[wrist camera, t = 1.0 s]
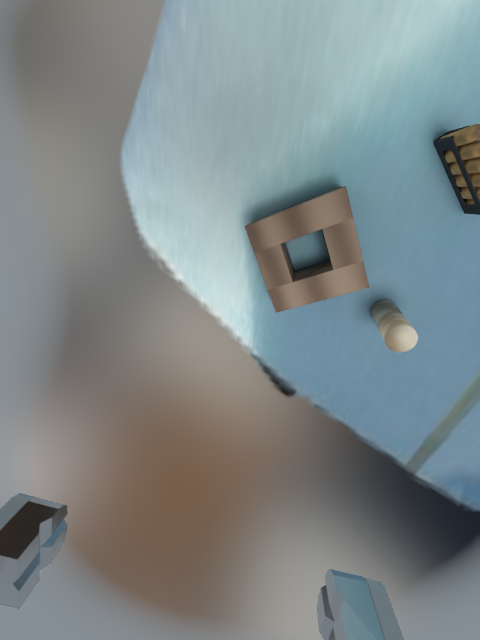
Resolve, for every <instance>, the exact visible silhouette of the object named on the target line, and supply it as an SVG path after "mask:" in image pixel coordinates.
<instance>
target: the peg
mask: <svg viewBox="0 0 480 640" xmlns="http://www.w3.org/2000/svg"><path fill="white" fill-rule="evenodd" d="M371 315H372V317H373V319H374V321H375V323H376V325H377V327H378V329H379V331H380V333H381V336H382V338H383V340H384V342H385V344H386V346H387V347H388V348H389V349H390V350H392V351H395V352H405V351H408V350H410V349H412V348H413V347H414V346H415V345H416V343H417V341H418V335H417V333H416V331H415V330H414V329H413V327H412V326H411V324H410V323H409V322H408V320H407V319H406V318H405V316H404V315H403V314H402V312H401V311H400V310H399V308H398V307H397V306H396V304H395V303H394V302H392V301H390V300H380V301H378V302H376V303H375V304H374V305H373V306H372V308H371Z"/></svg>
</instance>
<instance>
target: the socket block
mask: <svg viewBox="0 0 480 640" xmlns="http://www.w3.org/2000/svg"><path fill="white" fill-rule="evenodd" d="M245 228H246V231H247V234H248V237H249V239H250V242H251V245H252V248H253V250H254V253H255V256H256V259H257V261H258V264H259V267H260V270H261V273H262V275H263V278H264V281H265V284H266V286H267V289H268V292H269V295H270V297H271V300H272V303H273V306H274V309H275V311H276V312H280V311H284V310H288V309H291V308H295V307H299V306H302V305H306V304H310V303H314V302H317V301H321V300H325V299H328V298H332V297H336V296H339V295H343V294H347V293H351V292H354V291H358V290H362V289H365V288H369V285H368V280H367V276H366V272H365V267H364V263H363V259H362V254H361V250H360V246H359V241H358V237H357V233H356V228H355V224H354V220H353V215H352V211H351V207H350V202H349V198H348V194H347V189H346V187H339V188H337V189H334V190H332V191H329V192H327V193H324V194H322V195H319V196H317V197H314V198H312V199H309V200H307V201H304V202H302V203H299V204H297V205H294V206H292V207H289V208H287V209H284V210H282V211H279V212H277V213H274V214H272V215H269V216H267V217H264V218H262V219H259V220H257V221H254V222H252V223H250V224H249V225H247V226H245ZM321 229H322V230H323V234H324V238H325V241H326V245H327V249H328V252H329V256H330V261H327V262H324V263H321V264H318V265H315V266H311V267H308V268H305V269H302V270H299V271H296V272H295V271H294V268H293V265H292V262H291V259H290V256H289V253H288V250H287V246H286V243H285V242H287V241H290V240H293V239H295V238H298V237H301V236H304V235H307V234H309V233H312V232H315V231H318V230H321Z"/></svg>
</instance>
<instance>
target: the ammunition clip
mask: <svg viewBox="0 0 480 640" xmlns="http://www.w3.org/2000/svg"><path fill="white" fill-rule="evenodd" d="M478 139H480V124H475V125H472V126H466V127H463V128H459V129H456V130H452V131H449V132H447V133H445V134H444V135H442V136H441V137H439V138H438V139H436V140H435V141H434V146H435V148H436V150H437V153H438V155H439V157H440V159H441V162H442V164H443V166H444V168H445V171H446V173H447V175H448V177H449V180H450V182H451V184H452V186H453V189H454V191H455V193H456V195H457V198H458V200H459V202H460V205H461V207H462V209H463V211H464V213H466V214H478V215H480V140H479V141H477V140H478Z"/></svg>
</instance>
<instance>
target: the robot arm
mask: <svg viewBox="0 0 480 640" xmlns="http://www.w3.org/2000/svg"><path fill="white" fill-rule="evenodd" d="M66 515H67V505H63V504H59V503H55V502H52V501H48V500H44V499H40V498H37V497H33V496H29V495H25V494H21V493H19V494H17V495H15V496H14V497H12V498H11V499H10V500H9V501H8V502H7V503H6V504H5V505H4V506H2V508H0V605H5V606H9V607H14V608H18V609H19V608H20V607H21V606H22V604H23V603H24V601H25V600H26V598H27V597H28V596H29V594H30V593H31V591H32V590H33V588H34V587H35V585H36V584H37V583H38V581H39V579H40V570H41V569H42V568H44V567H45V566H47V565H48V564H50V563H51V562H52V561H53V560H54V558H55V556H56V555H57V554H58V552H59V550H60V548H61V546H62V544H63V542H64V540H65V536H66V533H67V524H66V522H65V521H64V518H65V516H66ZM325 581H326V585H325V586H323V587H322V588H321V589H320V593H319V596H318V606H317V613H318V625H319V631H320V633H321V635H322V637H323V638H324V640H404V639H403V636H402V633H401V630H400V627H399V625H398V622H397V619H396V616H395V613H394V611H393V608H392V605H391V602H390V599H389V596H388V594H387V591H386V588H385V586H384V585H383V583H382V582H380V581H377V580H372V579H367V578H363V577H362V576H358V575H353V574H348V573H344V572H340V571H335V570H331V569H330V570H328V571H327V573H326V576H325Z"/></svg>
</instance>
